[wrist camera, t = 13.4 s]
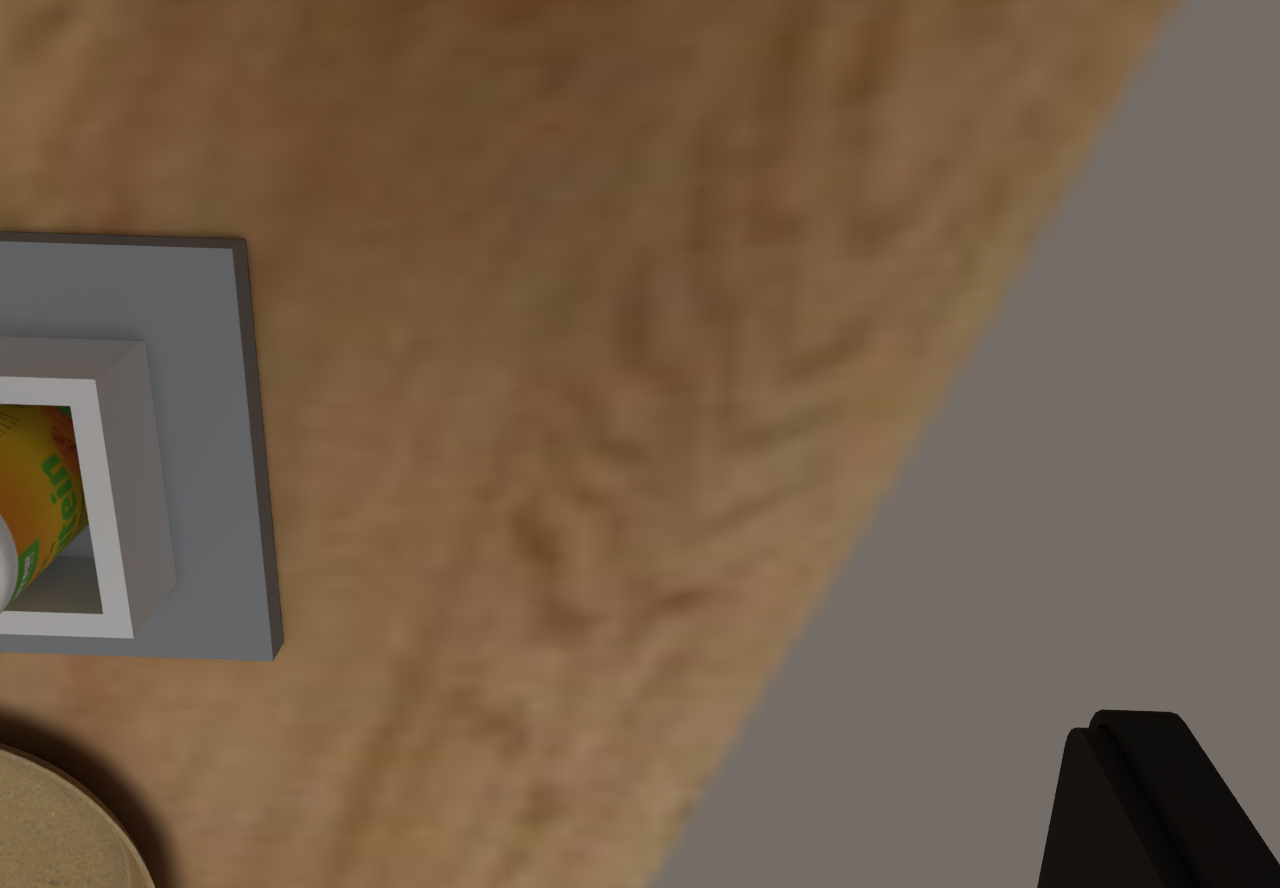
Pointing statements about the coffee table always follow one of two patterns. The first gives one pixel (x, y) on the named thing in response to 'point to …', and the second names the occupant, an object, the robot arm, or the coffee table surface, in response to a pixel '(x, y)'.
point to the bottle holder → (146, 445)
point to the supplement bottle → (36, 492)
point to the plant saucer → (60, 831)
